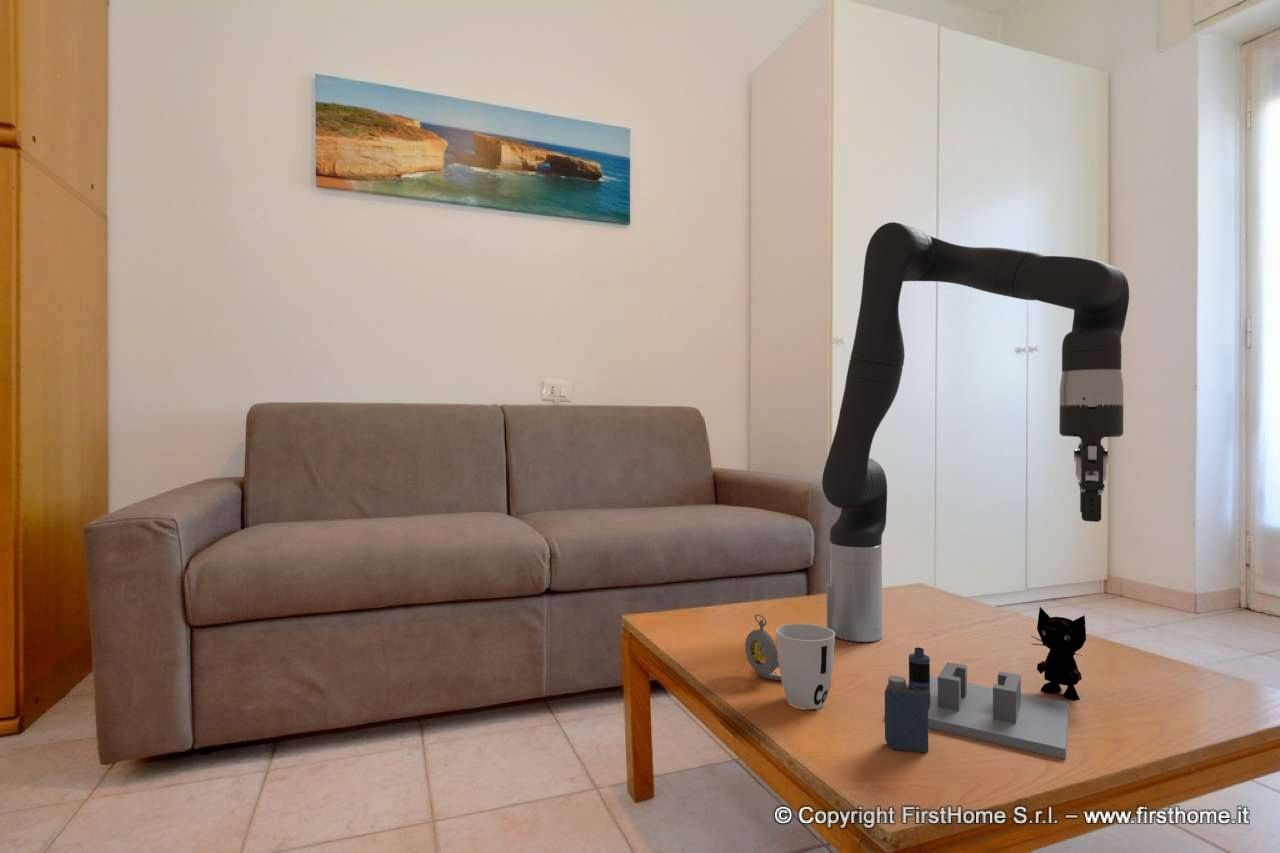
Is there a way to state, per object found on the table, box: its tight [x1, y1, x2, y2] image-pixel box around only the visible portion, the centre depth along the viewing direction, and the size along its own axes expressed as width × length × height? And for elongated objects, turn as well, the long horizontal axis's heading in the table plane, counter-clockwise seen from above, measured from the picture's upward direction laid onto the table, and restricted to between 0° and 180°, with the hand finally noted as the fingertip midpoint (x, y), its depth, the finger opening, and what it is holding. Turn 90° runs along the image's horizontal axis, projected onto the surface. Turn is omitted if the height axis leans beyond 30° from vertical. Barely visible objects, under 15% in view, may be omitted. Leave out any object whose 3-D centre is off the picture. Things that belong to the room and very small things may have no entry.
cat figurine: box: [1029, 606, 1087, 701], centre depth 98 cm, size 7×7×12 cm
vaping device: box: [884, 646, 931, 753], centre depth 81 cm, size 3×5×12 cm, turn 78°
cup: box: [775, 623, 836, 710], centre depth 95 cm, size 8×8×10 cm
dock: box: [906, 661, 1070, 760], centre depth 90 cm, size 20×16×5 cm
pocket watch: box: [745, 614, 782, 681], centre depth 105 cm, size 8×8×10 cm
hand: (1090, 517), depth 95 cm, fingers open, 8 cm apart
